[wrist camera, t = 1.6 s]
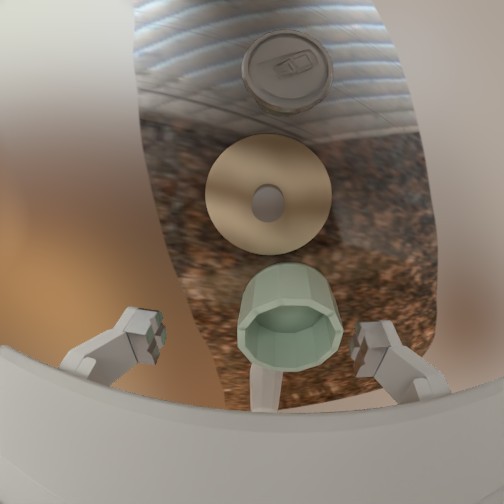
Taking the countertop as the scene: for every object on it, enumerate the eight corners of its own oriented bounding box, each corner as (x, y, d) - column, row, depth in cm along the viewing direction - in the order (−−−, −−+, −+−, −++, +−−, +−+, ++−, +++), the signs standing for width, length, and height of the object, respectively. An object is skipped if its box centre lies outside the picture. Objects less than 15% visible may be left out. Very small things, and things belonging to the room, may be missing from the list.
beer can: (292, 57, 21) (306, 14, 10) (319, 103, 23) (353, 91, 12) (243, 80, 22) (221, 51, 12) (270, 125, 24) (268, 128, 14)
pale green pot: (243, 259, 31) (236, 295, 25) (338, 263, 31) (352, 300, 25) (243, 330, 36) (238, 369, 30) (323, 332, 36) (330, 371, 30)
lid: (205, 133, 26) (195, 135, 22) (335, 138, 25) (344, 141, 21) (210, 248, 32) (202, 265, 28) (322, 253, 31) (328, 271, 27)
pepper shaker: (290, 366, 40) (291, 427, 30) (270, 382, 42) (268, 439, 32) (261, 353, 39) (256, 416, 29) (242, 370, 41) (234, 429, 31)
